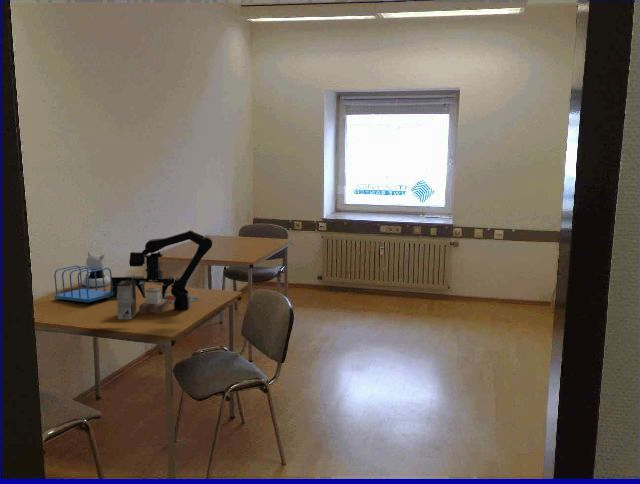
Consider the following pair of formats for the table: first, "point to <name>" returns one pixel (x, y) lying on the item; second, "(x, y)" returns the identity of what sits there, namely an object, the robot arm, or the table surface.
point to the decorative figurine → (96, 262)
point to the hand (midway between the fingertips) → (153, 298)
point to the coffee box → (126, 299)
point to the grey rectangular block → (115, 281)
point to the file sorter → (83, 294)
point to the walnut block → (153, 307)
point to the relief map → (172, 298)
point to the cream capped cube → (153, 295)
